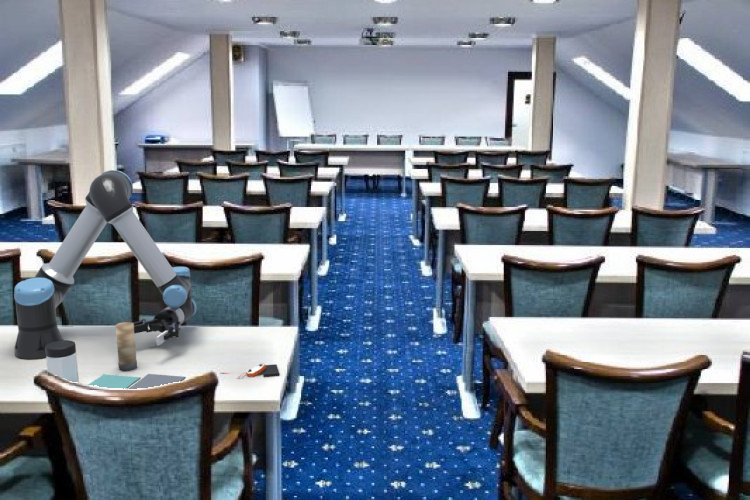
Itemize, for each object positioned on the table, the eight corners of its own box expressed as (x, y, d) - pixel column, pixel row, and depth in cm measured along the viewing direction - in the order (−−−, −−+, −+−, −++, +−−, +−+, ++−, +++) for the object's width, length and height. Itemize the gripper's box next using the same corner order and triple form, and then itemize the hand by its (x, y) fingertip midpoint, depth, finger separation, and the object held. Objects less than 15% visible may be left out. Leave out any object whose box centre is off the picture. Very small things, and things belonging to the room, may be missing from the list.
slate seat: (127, 390, 217) (127, 389, 217) (148, 375, 229) (148, 373, 229) (166, 393, 215) (166, 392, 215) (185, 378, 226) (185, 376, 226)
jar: (71, 375, 229) (67, 337, 226) (85, 382, 224) (82, 343, 221) (42, 384, 222) (38, 345, 219) (56, 391, 217) (52, 351, 214)
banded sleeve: (115, 370, 233) (111, 326, 230) (124, 364, 238) (121, 321, 235) (131, 371, 231) (128, 327, 228) (140, 365, 237) (137, 322, 234)
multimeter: (217, 387, 221) (216, 376, 220) (219, 371, 233) (218, 361, 232) (279, 384, 224) (279, 373, 223) (278, 369, 235) (278, 358, 234)
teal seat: (80, 390, 217) (80, 389, 217) (103, 375, 229) (103, 374, 229) (119, 394, 215) (119, 392, 215) (140, 378, 226) (140, 377, 226)
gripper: (203, 332, 257) (175, 353, 236) (135, 327, 261) (102, 348, 241) (202, 310, 255) (173, 330, 235) (134, 306, 260) (100, 326, 240)
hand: (137, 339), depth 238 cm, fingers open, 13 cm apart
